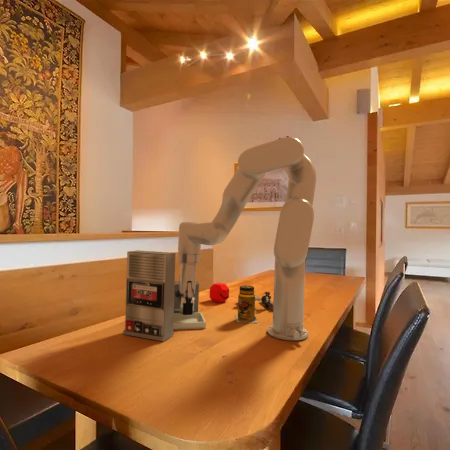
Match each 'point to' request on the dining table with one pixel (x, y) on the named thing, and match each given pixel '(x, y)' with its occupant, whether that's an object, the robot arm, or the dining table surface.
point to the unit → (178, 295)
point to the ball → (219, 292)
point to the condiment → (246, 305)
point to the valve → (264, 299)
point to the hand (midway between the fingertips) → (186, 311)
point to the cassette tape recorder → (150, 294)
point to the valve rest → (269, 304)
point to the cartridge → (182, 304)
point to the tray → (189, 321)
